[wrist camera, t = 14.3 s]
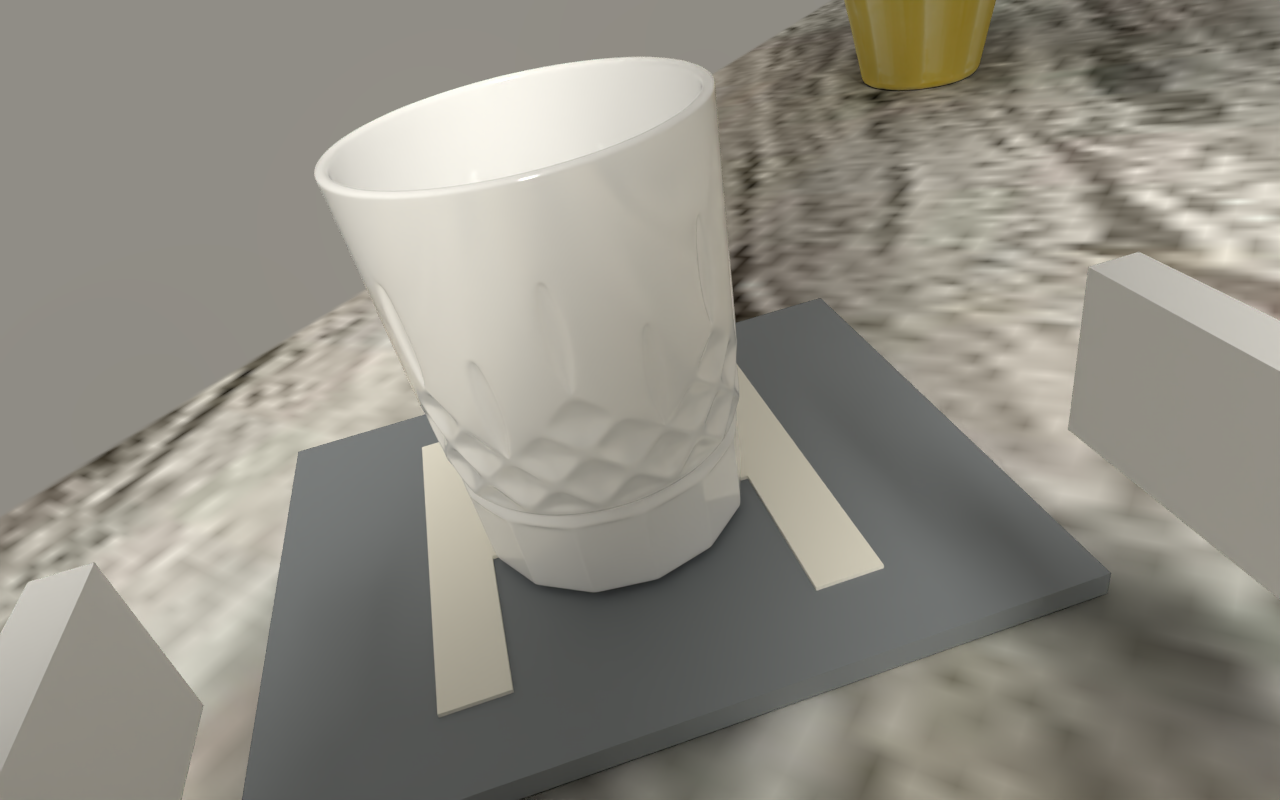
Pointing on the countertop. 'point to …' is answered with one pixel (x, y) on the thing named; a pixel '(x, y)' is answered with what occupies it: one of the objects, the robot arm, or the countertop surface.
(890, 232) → the countertop surface
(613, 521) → the white cup
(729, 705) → the letter board
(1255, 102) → the countertop surface
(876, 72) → the plant pot
